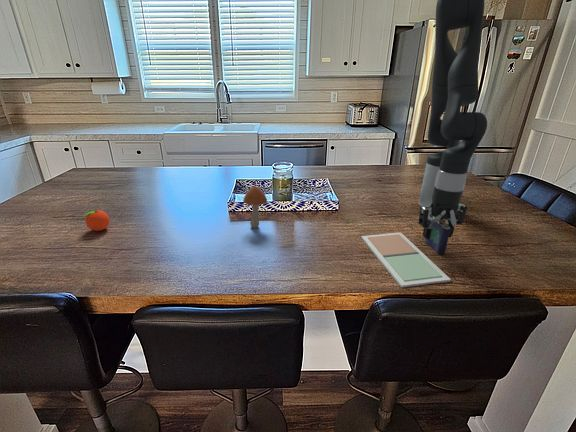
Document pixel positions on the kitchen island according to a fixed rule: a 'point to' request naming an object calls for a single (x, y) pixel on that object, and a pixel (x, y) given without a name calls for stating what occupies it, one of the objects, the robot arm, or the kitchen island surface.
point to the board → (404, 260)
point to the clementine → (97, 220)
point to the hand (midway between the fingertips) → (436, 237)
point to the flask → (439, 237)
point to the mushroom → (255, 203)
